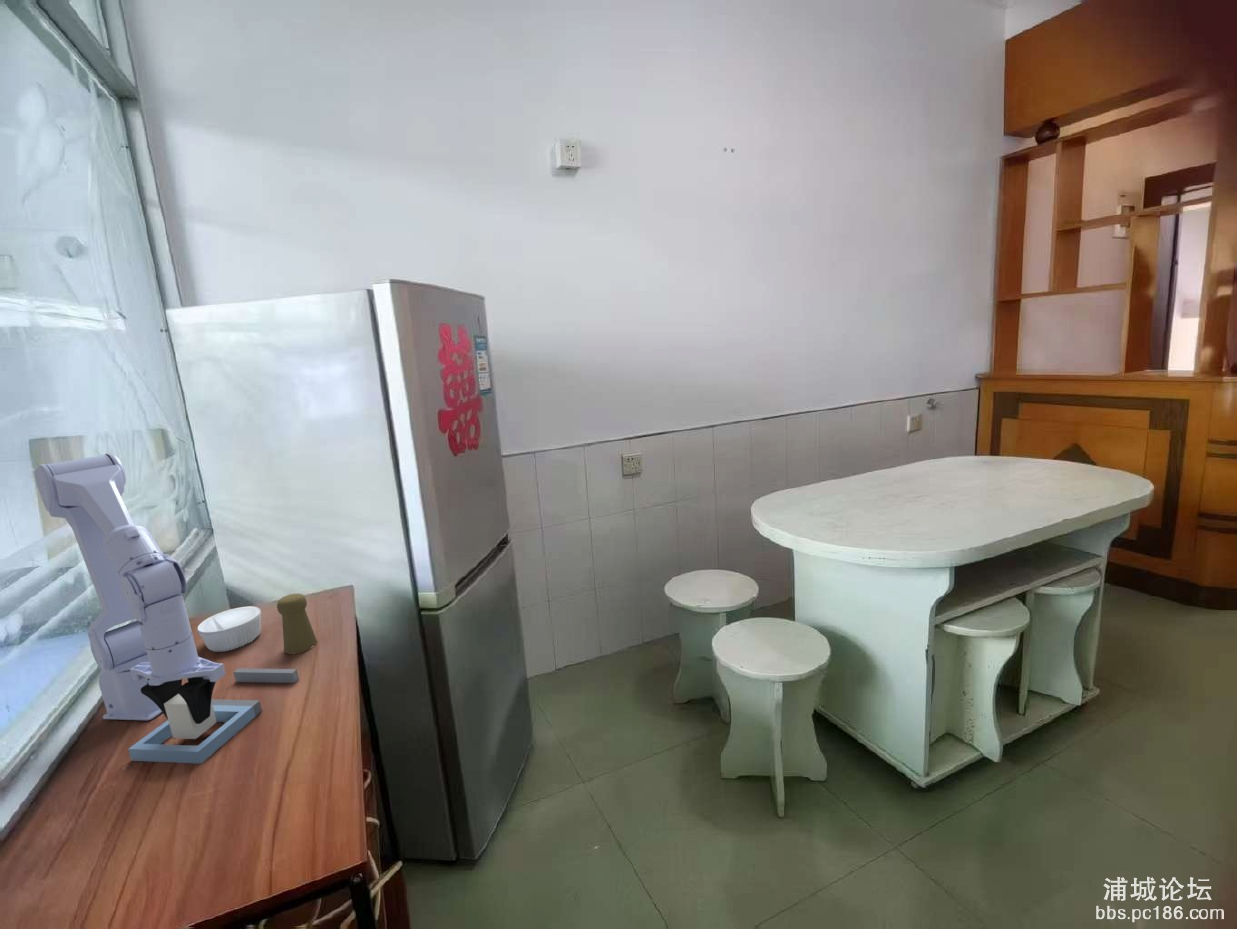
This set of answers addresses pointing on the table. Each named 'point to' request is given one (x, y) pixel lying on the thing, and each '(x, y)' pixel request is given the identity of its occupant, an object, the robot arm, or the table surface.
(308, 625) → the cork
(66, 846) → the table surface
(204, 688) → the robot arm
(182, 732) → the cream white block
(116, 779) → the table surface
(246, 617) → the ramekin
